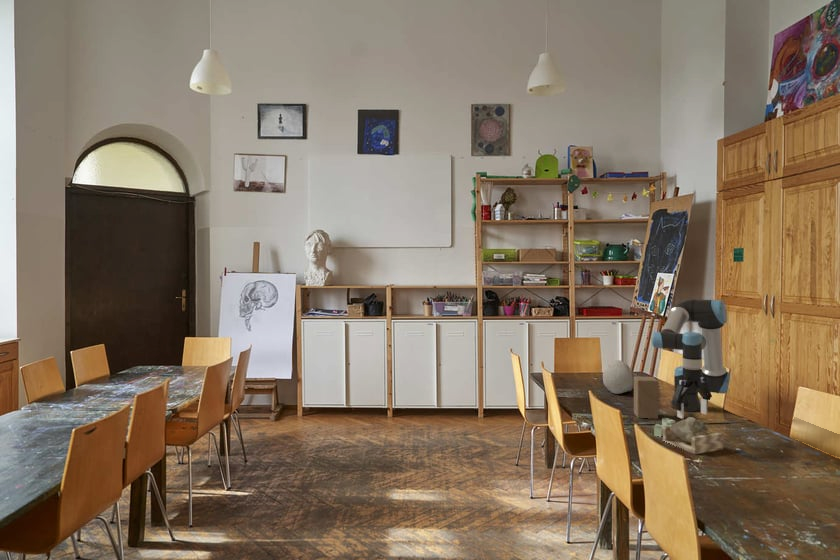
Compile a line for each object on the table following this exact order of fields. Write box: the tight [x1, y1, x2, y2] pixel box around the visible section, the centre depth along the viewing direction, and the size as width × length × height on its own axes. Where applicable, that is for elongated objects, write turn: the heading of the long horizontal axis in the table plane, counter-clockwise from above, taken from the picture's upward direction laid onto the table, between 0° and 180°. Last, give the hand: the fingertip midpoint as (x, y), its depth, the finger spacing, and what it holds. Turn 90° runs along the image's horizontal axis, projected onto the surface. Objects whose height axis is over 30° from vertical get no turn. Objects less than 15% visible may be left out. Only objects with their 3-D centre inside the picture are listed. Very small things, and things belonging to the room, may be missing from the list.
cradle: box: [662, 425, 724, 455], centre depth 225 cm, size 16×17×7 cm
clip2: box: [653, 423, 666, 438], centre depth 237 cm, size 3×5×5 cm, turn 49°
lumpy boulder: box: [670, 416, 709, 443], centre depth 224 cm, size 11×11×15 cm
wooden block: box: [633, 375, 659, 420], centre depth 269 cm, size 10×10×20 cm
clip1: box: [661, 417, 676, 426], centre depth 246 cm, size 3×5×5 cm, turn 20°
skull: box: [602, 360, 634, 395], centre depth 322 cm, size 17×27×20 cm, turn 148°
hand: (692, 415), depth 225 cm, fingers open, 13 cm apart
